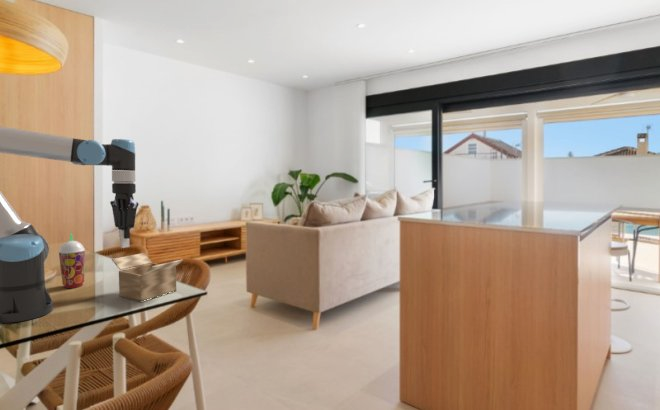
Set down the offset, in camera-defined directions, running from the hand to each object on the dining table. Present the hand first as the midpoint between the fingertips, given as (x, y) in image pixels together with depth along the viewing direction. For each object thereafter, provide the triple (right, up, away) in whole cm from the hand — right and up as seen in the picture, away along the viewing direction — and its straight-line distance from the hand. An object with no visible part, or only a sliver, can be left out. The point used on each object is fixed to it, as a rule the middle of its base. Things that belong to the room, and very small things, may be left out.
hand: (124, 247), depth 144 cm
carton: (+11, -16, -4) cm, 20 cm away
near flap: (+16, -8, -8) cm, 19 cm away
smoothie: (-21, -15, +4) cm, 27 cm away
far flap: (+6, -7, -2) cm, 9 cm away
